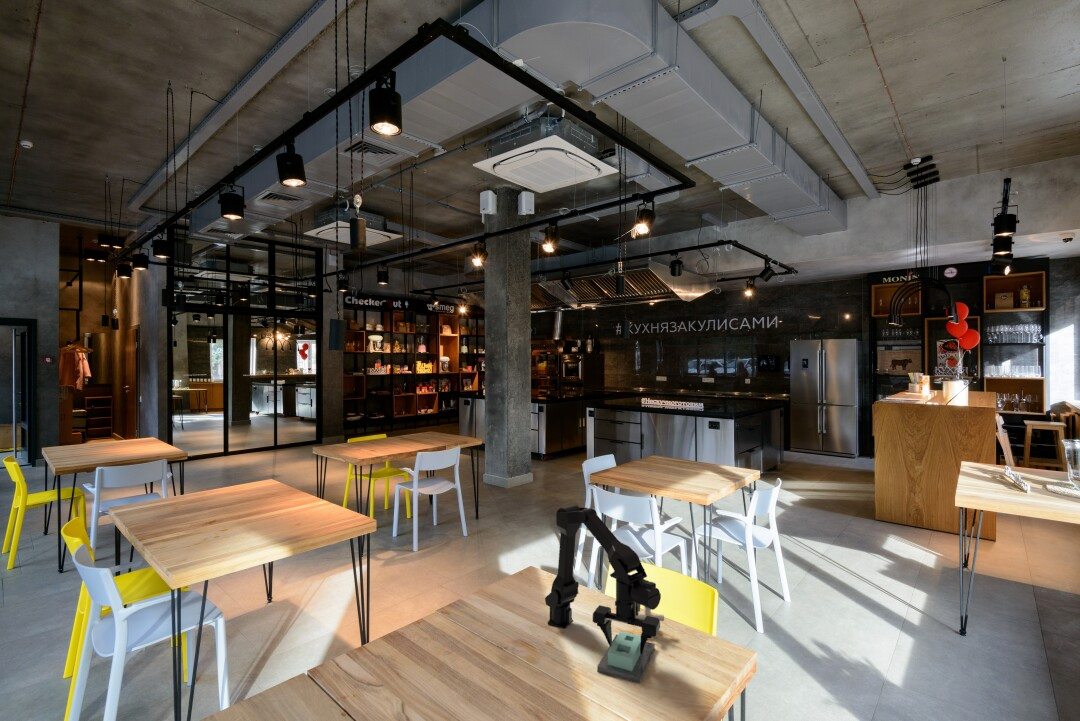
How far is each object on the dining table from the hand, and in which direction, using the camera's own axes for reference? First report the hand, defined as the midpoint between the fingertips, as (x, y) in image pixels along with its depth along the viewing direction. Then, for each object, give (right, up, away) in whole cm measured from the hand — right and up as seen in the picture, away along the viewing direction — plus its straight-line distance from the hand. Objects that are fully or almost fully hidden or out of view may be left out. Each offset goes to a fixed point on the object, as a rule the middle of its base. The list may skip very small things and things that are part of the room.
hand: (625, 649), depth 147 cm
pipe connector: (+10, -4, +15) cm, 18 cm away
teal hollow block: (0, -2, 0) cm, 2 cm away
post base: (0, -4, +1) cm, 4 cm away
